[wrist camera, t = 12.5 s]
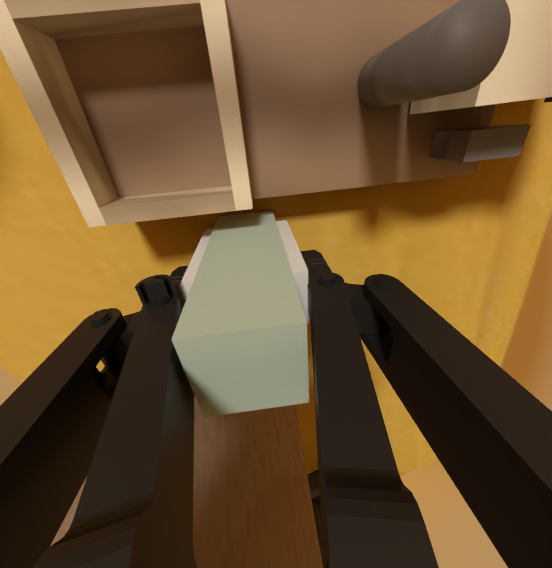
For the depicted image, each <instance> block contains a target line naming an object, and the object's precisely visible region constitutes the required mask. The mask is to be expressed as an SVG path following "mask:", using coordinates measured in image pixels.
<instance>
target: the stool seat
mask: <svg viewBox="0 0 552 568" xmlns="http://www.w3.org/2000/svg"><path fill="white" fill-rule="evenodd" d="M510 25H511V18H510V10H509V7H508V4H507V2H506V0H0V49H1V51H2V53H3V55H4V57H5V59H6V61H7V63H8V65H9V67H10V69H11V72H12V74H13V76H14V78H15V80H16V82H17V84H18V86H19V88H20V90H21V92H22V94H23V96H24V98H25V100H26V102H27V104H28V106H29V108H30V110H31V112H32V114H33V116H34V118H35V120H36V122H37V124H38V126H39V128H40V130H41V132H42V134H43V136H44V138H45V140H46V142H47V144H48V146H49V148H50V150H51V152H52V154H53V156H54V158H55V160H56V162H57V164H58V166H59V168H60V170H61V172H62V174H63V176H64V178H65V180H66V182H67V184H68V186H69V188H70V190H71V192H72V194H73V196H74V198H75V200H76V202H77V204H78V206H79V208H80V210H81V212H82V214H83V216H84V218H85V221H86V223H87V225H88V227H97V226H106V225H115V224H123V223H132V222H141V221H150V220H159V219H168V218H176V217H185V216H194V215H203V214H212V213H221V212H230V211H238V210H247V209H253V202H252V199H260V198H269V197H278V196H287V195H296V194H305V193H314V192H323V191H331V190H340V189H349V188H358V187H367V186H376V185H385V184H394V183H403V182H412V181H421V180H430V179H439V178H448V177H457V176H466V175H474V173H475V170H476V167H477V163H478V161H479V160H488V159H497V158H507V157H516V156H519V154H520V152H521V149H522V147H523V144H524V141H525V139H526V136H527V133H528V131H529V128H530V125H505V126H489V124H490V121H491V117H492V114H493V111H494V107H495V104H492V105H484V106H476V107H468V108H459V109H451V110H443V111H434V112H426V113H418V114H410V108H411V102H413V101H418V100H423V99H428V98H433V97H438V96H444V95H449V94H454V93H459V92H464V91H467V90H470V89H472V88H474V87H475V86H477V85H479V84H480V83H481V82H482V81H484V80H485V79H486V78H487V77H488V76H489V74H490V73H491V72H492V71H493V70H494V68H495V67H496V65H497V64H498V62H499V61H500V59H501V57H502V55H503V53H504V50H505V48H506V45H507V42H508V38H509V34H510Z"/></svg>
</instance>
